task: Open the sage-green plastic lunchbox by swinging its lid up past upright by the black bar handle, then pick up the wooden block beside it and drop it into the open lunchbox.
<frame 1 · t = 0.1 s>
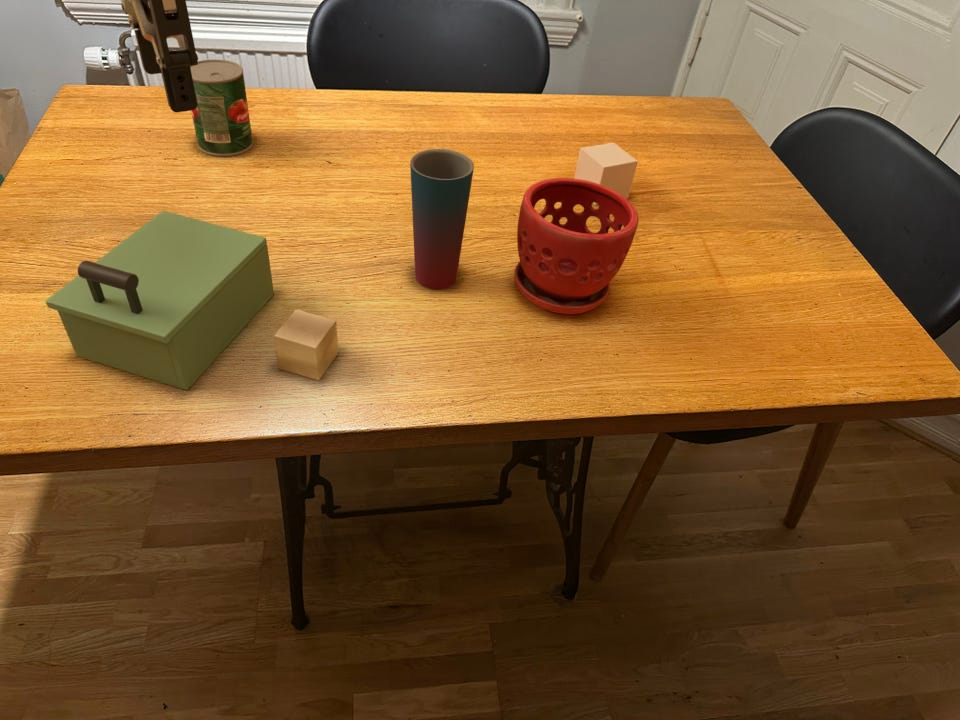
hand: (170, 90, 62), 24 cm above the table, tool pointing down, fingers open, 8 cm apart
wooden block: (309, 360, 72), on the table
lunchbox lid: (159, 252, 68), point 9 cm above the table, hinge at 0.0°
cup: (435, 278, 85), on the table
lunchbox: (181, 323, 75), on the table
flower pot: (562, 291, 85), on the table
canned tomato: (226, 145, 104), on the table
beige cube: (599, 192, 104), on the table
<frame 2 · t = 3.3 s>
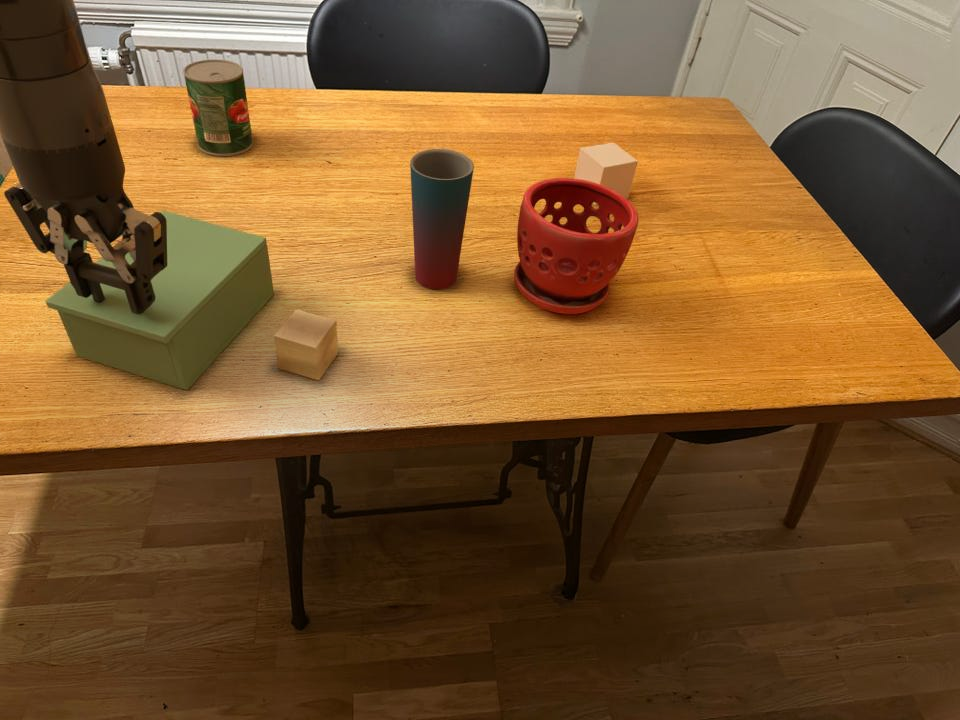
hand: (116, 299, 64), 8 cm above the table, tool pointing down, fingers closed on lunchbox lid, 5 cm apart
lunchbox lid: (159, 252, 68), point 9 cm above the table, hinge at 0.0°, touching gripper
everything else where it was.
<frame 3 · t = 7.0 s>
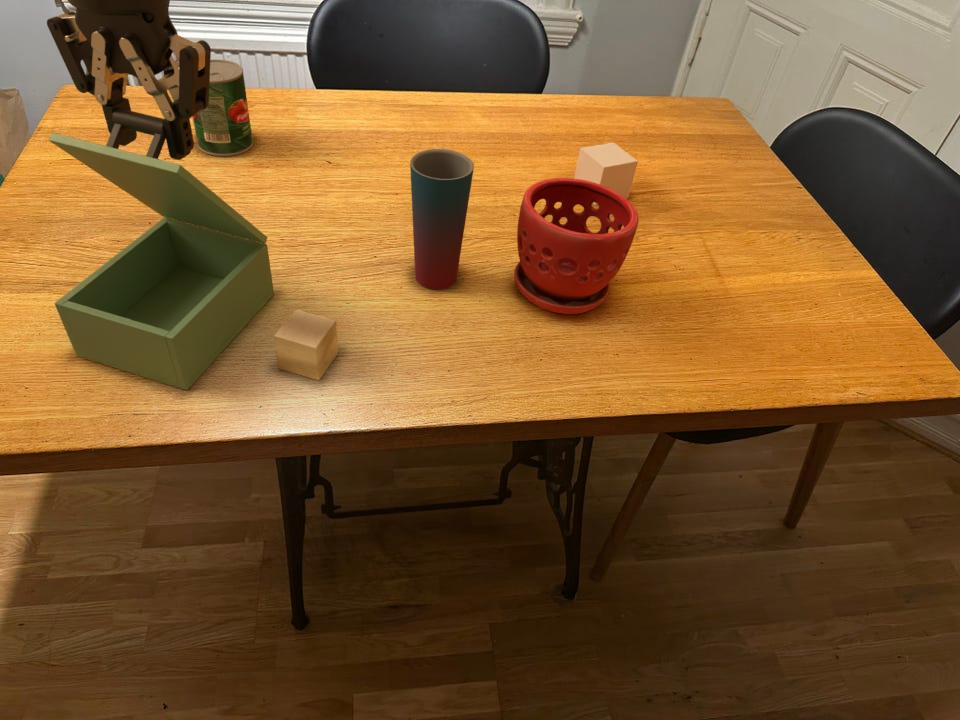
hand: (154, 148, 63), 19 cm above the table, tool pointing down, fingers closed on lunchbox lid, 5 cm apart
lunchbox lid: (177, 174, 67), point 15 cm above the table, hinge at 51.5°, touching gripper
everything else where it was.
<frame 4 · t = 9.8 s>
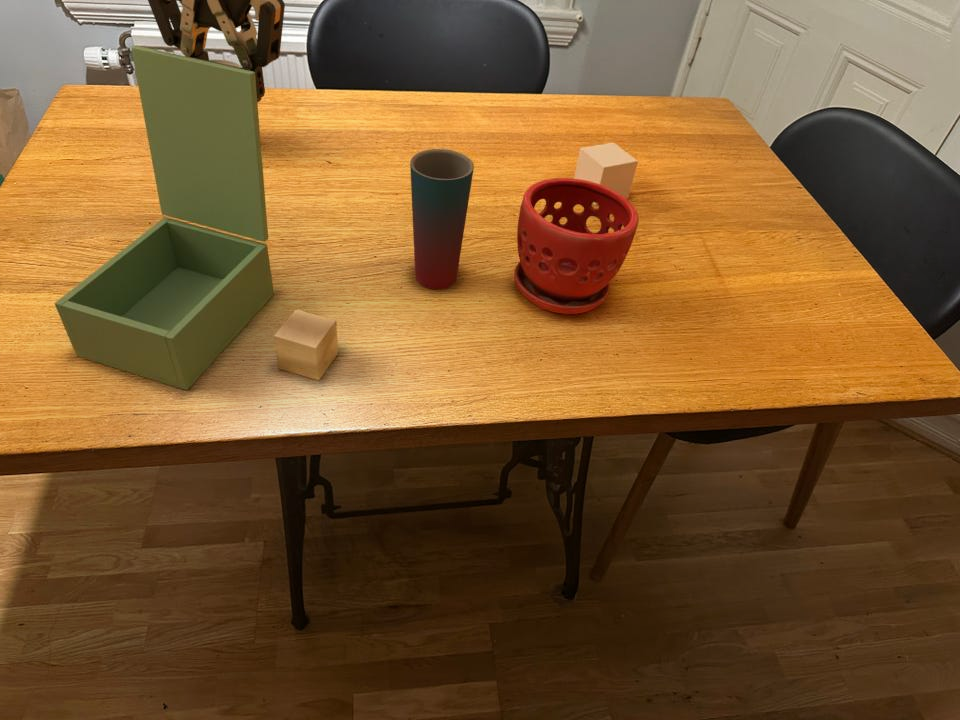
hand: (229, 96, 72), 19 cm above the table, tool pointing down, fingers closed on lunchbox lid, 5 cm apart
lunchbox lid: (216, 142, 72), point 16 cm above the table, hinge at 95.1°, touching gripper
everything else where it was.
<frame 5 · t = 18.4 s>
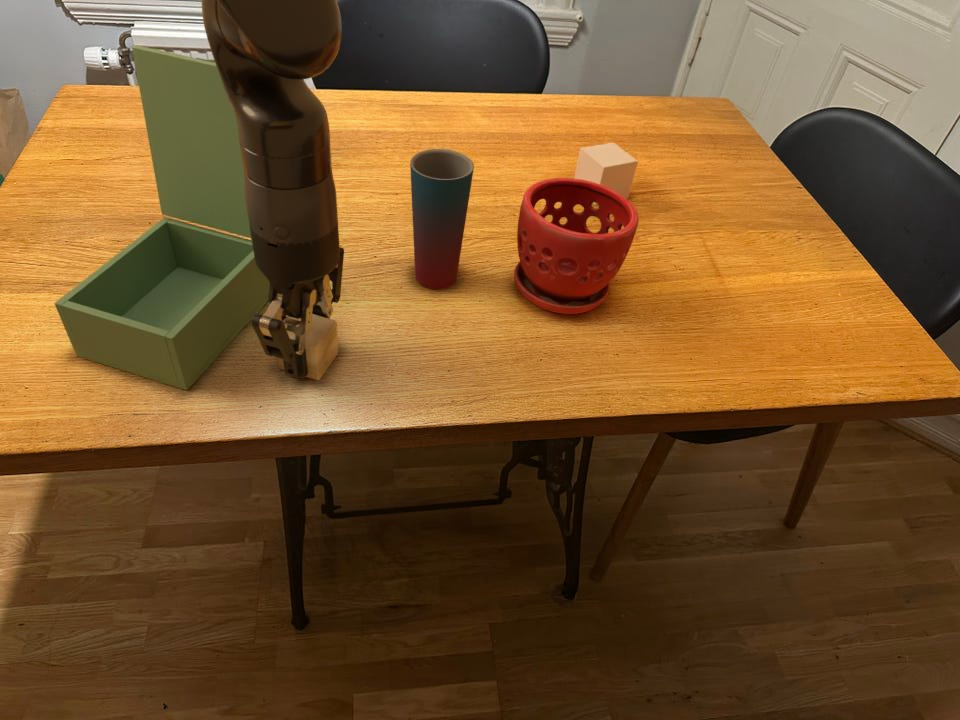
hand: (308, 358, 72), 0 cm above the table, tool pointing down, fingers closed on wooden block, 4 cm apart
wooden block: (309, 360, 72), on the table, touching gripper
lunchbox lid: (216, 142, 72), point 16 cm above the table, hinge at 95.5°
everything else where it was.
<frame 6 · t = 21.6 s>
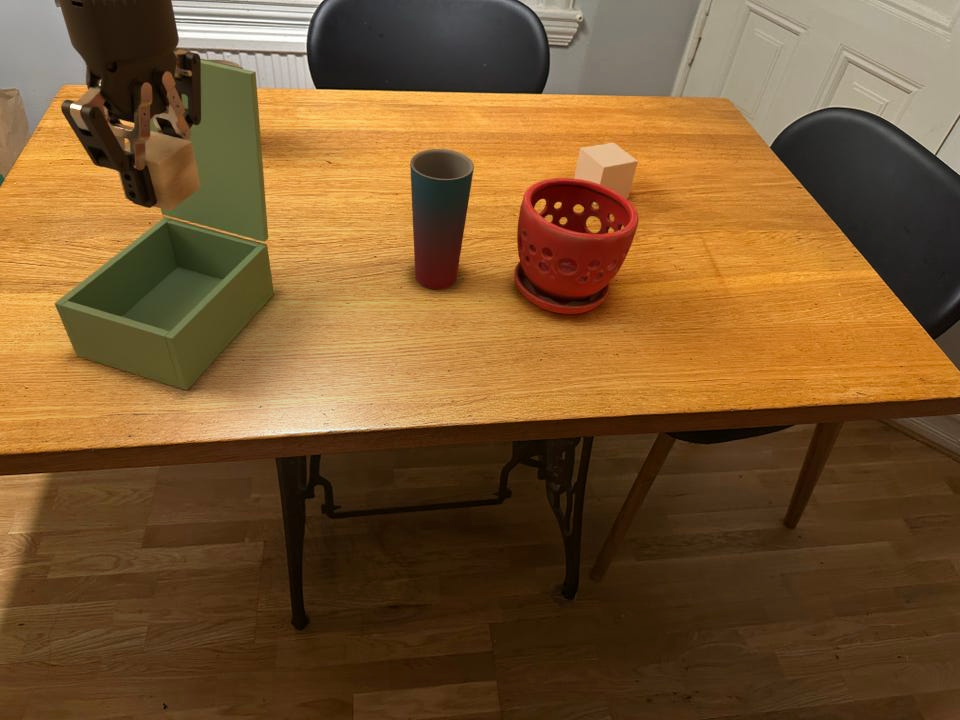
hand: (163, 189, 62), 17 cm above the table, tool pointing down, fingers closed on wooden block, 4 cm apart
wooden block: (164, 193, 62), point 17 cm above the table, touching gripper
everything else where it was.
when the fingers open (7 cm above the table, at t = 24.8 s): wooden block drops 6 cm, resting on lunchbox.
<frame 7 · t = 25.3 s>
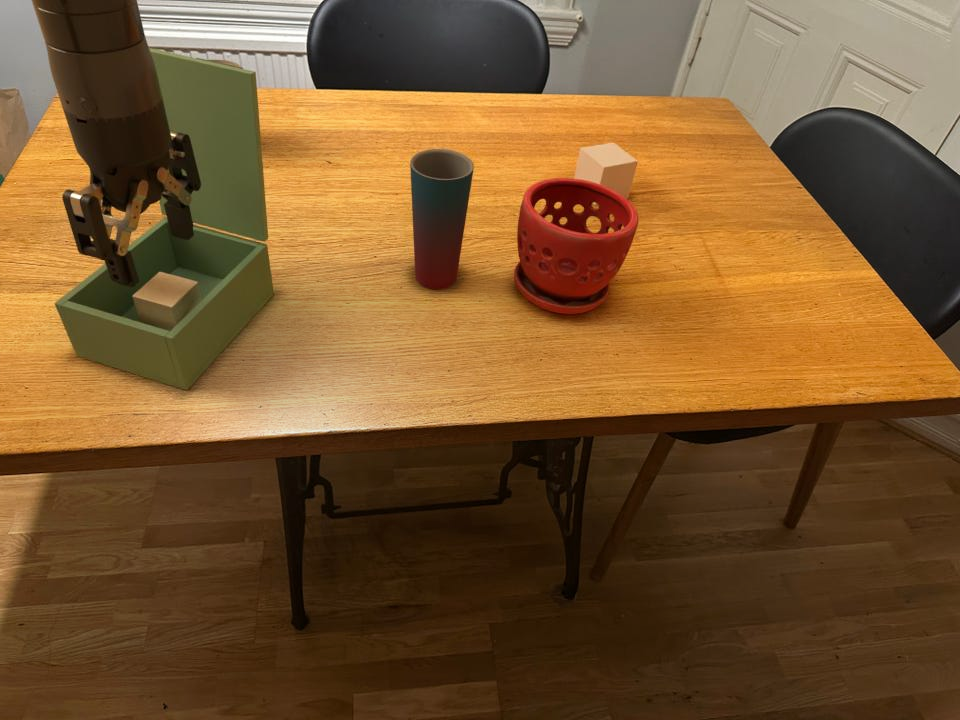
hand: (156, 259, 68), 9 cm above the table, tool pointing down, fingers open, 8 cm apart
wooden block: (175, 322, 73), point 1 cm above the table, touching lunchbox
everything else where it was.
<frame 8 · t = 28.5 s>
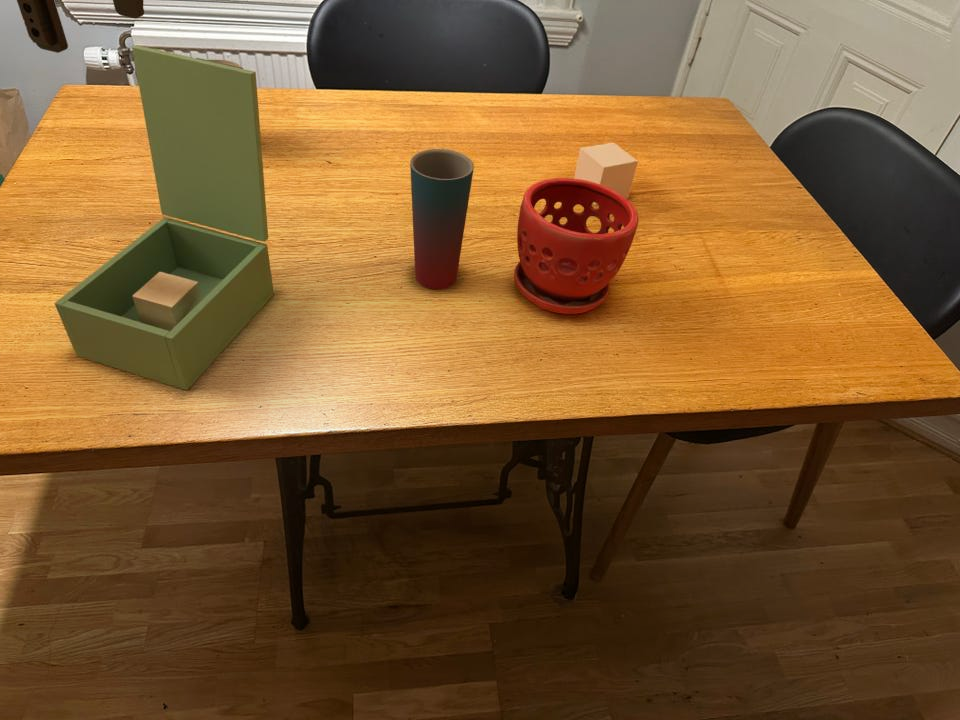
hand: (94, 31, 53), 30 cm above the table, tool pointing down, fingers open, 8 cm apart
nothing on the table moved.
at the end: lunchbox lid at +96° (first picture: +0°); wooden block inside the target area in the lunchbox (0.9 cm from its centre), point 0.8 cm above the lunchbox's base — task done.
